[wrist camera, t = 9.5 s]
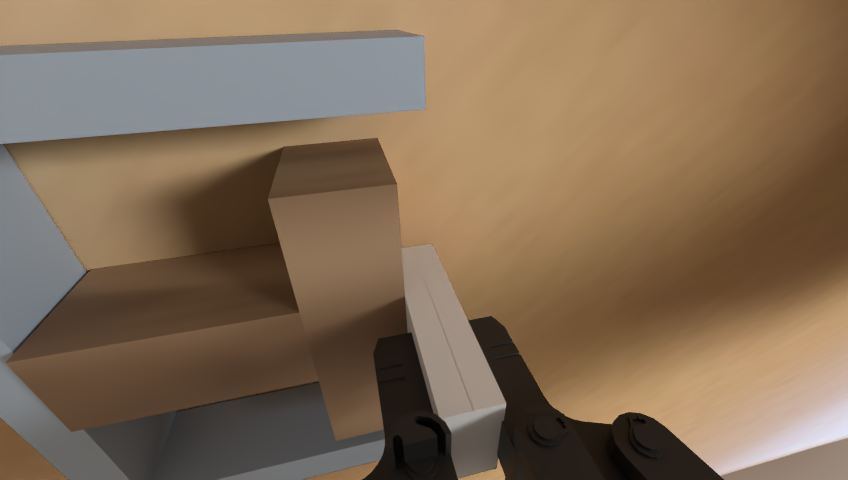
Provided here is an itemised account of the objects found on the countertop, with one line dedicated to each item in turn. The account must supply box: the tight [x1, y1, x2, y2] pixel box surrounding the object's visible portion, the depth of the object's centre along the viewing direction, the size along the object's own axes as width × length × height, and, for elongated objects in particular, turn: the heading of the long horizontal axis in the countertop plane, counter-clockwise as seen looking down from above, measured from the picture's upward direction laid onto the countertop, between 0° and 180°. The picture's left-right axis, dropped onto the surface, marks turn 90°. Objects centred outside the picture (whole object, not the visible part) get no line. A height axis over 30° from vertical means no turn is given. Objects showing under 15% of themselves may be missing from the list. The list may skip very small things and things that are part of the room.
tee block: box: [6, 138, 408, 441], centre depth 12 cm, size 10×10×4 cm
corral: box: [0, 30, 426, 480], centre depth 12 cm, size 16×12×4 cm
